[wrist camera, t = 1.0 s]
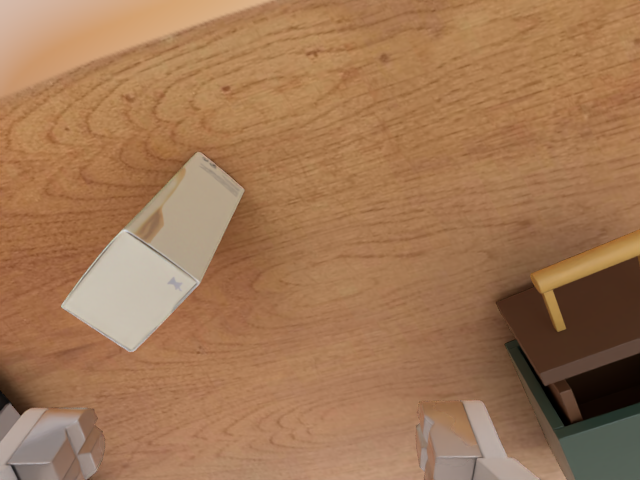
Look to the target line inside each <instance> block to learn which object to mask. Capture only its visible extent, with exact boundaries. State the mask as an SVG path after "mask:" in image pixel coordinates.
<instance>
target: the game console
mask: <svg viewBox="0 0 640 480" xmlns="http://www.w3.org/2000/svg"><path fill="white" fill-rule="evenodd" d="M20 417H21V416H20V414H19V413H18V412H17V411H16V410H15V409H14V408H13V406H12V404H11V402H10V401H9V400H8V399H7V398H6V397H5V395H4V394H3V393H2V392H1V391H0V442H1V441H2V439H3V438H4V437H5V436H6V434H7V433H8V432H9V431H10V429H11V428H12V427H13V425H14V424H15V423H16V422H17V420H18V419H19V418H20Z"/></svg>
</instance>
